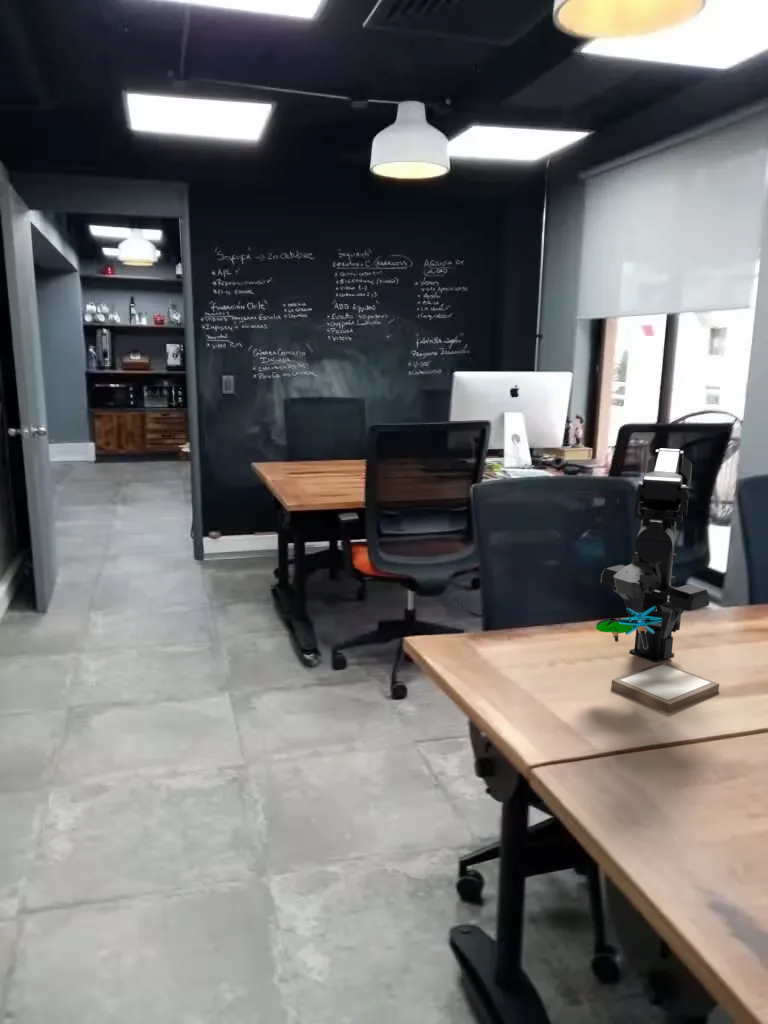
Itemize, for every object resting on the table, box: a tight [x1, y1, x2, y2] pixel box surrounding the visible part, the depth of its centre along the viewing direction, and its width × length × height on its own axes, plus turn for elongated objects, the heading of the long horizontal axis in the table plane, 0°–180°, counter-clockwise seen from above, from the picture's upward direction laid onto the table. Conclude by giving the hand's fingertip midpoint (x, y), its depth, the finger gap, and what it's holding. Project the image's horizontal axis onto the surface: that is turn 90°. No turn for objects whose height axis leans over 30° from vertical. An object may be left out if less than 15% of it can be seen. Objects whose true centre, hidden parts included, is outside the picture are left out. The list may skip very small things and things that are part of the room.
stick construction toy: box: [595, 606, 662, 649], centre depth 134 cm, size 12×7×8 cm
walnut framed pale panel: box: [610, 661, 720, 714], centre depth 138 cm, size 12×15×2 cm
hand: (648, 632), depth 135 cm, fingers closed on stick construction toy, 6 cm apart
